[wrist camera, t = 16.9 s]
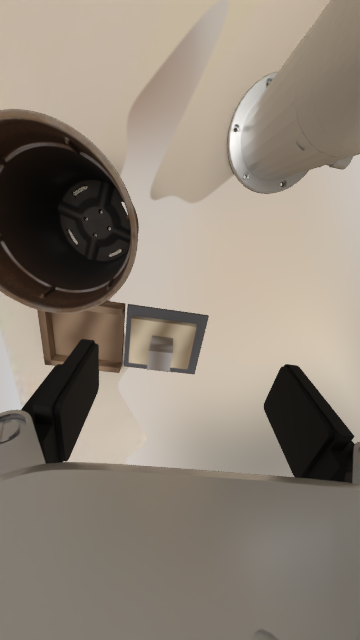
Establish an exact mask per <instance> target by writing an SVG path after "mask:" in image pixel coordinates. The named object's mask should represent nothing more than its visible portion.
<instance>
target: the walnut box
mask: <svg viewBox="0 0 360 640" xmlns="http://www.w3.org/2000/svg"><path fill="white" fill-rule="evenodd" d="M37 310H38V309H37ZM38 318H39V325H40V332H41V339H42V346H43V354H44V361H45V365H54V366H56V365H58V364H63V363H64V362H65V360H66V359H67V358H68V356H69V355H70V354H71V352H72V351H73V350H74V348H75V347H76V346H77V344H78V343H79V342H80V340H81V339H88V340H94V341H95V343H96V344H98V345H99V371H107V372H116V373H119V372H120V369H121V366H122V355H123V337H124V319H125V304H124V303H116V302H110V301H105V302H104V303H102V304H100V305H98V306H96V307H93V308H91V309H88V310H85V311H82V312H76V313H52V312H46V311H41V310H38Z"/></svg>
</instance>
